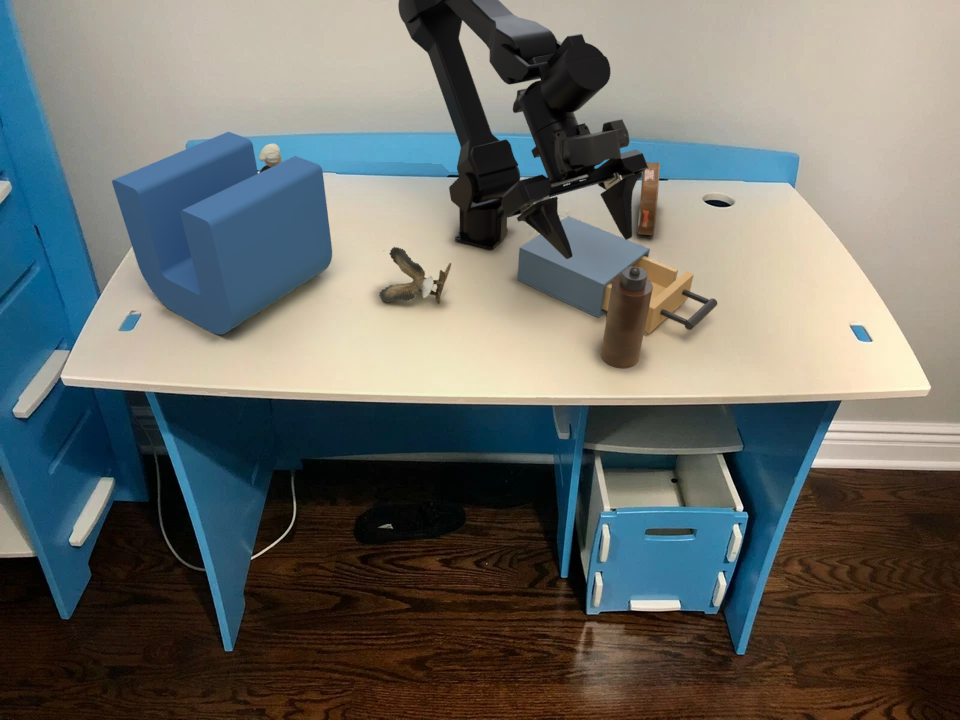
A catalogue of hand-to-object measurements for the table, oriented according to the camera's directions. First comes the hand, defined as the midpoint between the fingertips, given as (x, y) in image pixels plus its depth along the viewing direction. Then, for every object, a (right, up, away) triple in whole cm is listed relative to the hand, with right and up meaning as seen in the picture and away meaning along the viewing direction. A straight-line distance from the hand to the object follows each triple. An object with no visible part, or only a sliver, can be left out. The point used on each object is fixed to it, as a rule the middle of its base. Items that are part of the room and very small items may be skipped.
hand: (599, 248), depth 93 cm
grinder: (+3, -13, +4) cm, 14 cm away
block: (-48, -4, +13) cm, 50 cm away
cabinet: (0, -2, +17) cm, 17 cm away
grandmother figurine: (-47, +9, +29) cm, 55 cm away
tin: (+12, +9, +31) cm, 34 cm away
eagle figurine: (-24, -5, +13) cm, 28 cm away
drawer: (+8, -6, +12) cm, 15 cm away
